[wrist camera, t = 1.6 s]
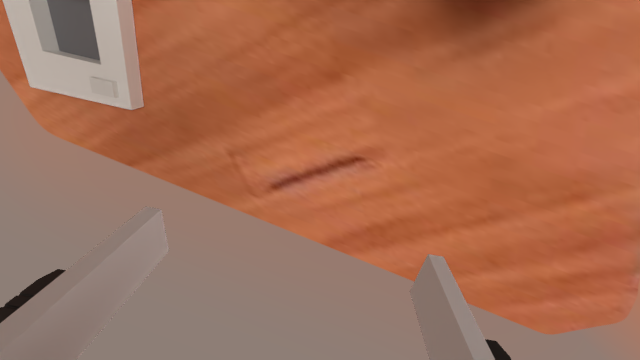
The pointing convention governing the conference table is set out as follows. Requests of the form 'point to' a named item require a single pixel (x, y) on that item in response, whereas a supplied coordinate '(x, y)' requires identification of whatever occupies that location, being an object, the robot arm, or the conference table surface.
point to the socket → (79, 48)
